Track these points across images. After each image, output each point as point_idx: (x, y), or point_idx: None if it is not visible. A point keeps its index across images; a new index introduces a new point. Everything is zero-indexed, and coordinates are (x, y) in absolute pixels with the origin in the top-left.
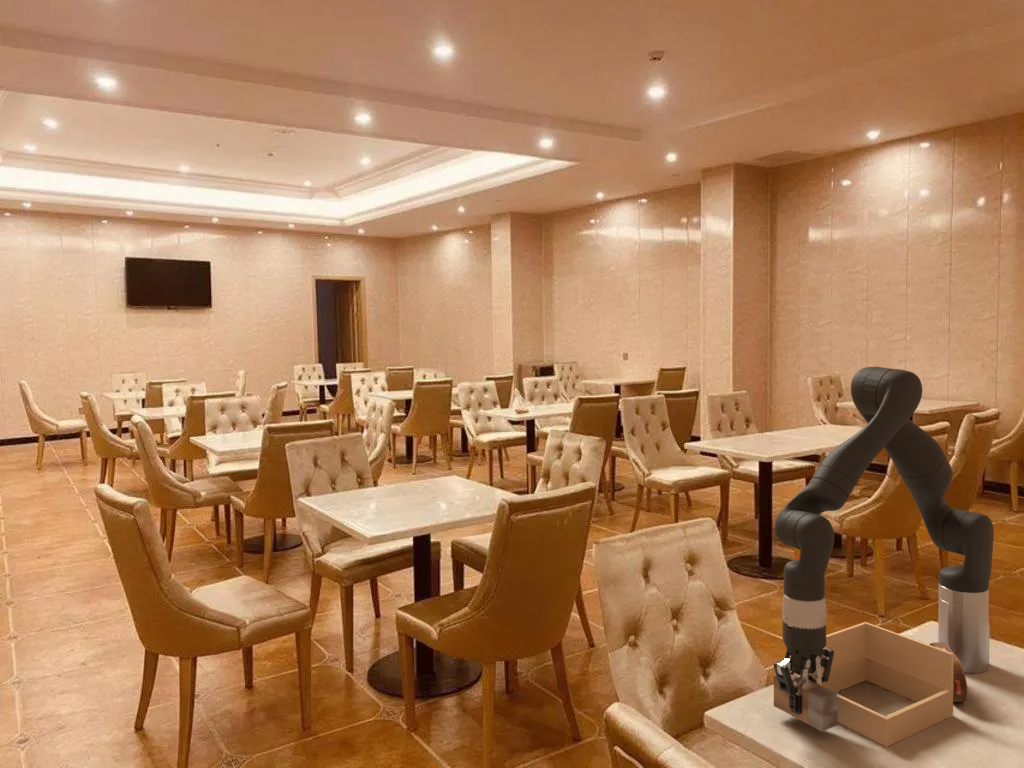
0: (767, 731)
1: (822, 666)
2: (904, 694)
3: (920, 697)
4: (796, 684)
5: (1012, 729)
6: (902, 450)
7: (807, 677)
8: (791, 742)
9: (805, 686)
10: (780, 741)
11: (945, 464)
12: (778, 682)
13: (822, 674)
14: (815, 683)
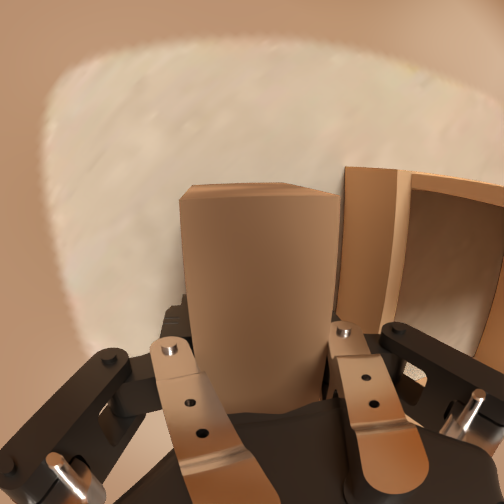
0: (110, 243)
1: (419, 400)
2: (500, 286)
3: (497, 320)
4: (216, 368)
5: None
6: None
7: (328, 355)
8: (134, 322)
9: (242, 399)
10: (109, 304)
11: None
12: (69, 382)
13: (392, 379)
14: (313, 393)
